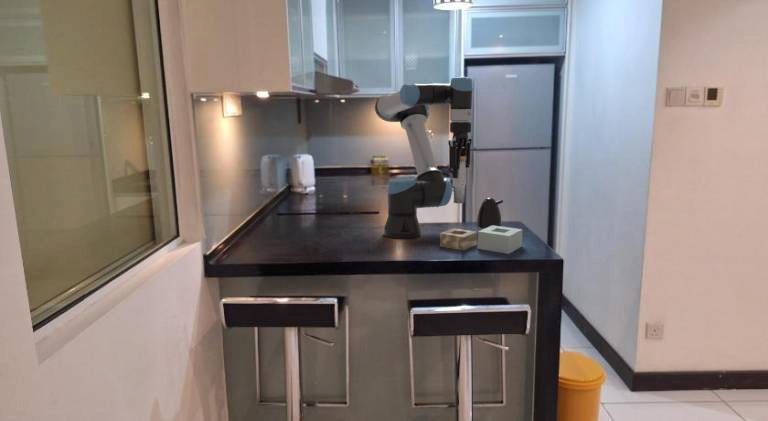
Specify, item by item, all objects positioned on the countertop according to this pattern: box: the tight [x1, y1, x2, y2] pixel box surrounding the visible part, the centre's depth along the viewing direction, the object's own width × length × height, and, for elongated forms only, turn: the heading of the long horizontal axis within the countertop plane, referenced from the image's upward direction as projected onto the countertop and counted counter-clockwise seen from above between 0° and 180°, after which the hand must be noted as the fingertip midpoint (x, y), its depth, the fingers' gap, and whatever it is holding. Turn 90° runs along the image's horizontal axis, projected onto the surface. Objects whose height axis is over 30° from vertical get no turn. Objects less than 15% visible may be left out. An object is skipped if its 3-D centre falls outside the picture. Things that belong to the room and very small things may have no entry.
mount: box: [439, 228, 478, 251], centre depth 194 cm, size 10×10×5 cm
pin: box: [453, 156, 466, 204], centre depth 189 cm, size 4×4×17 cm
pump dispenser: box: [475, 197, 504, 232], centre depth 209 cm, size 10×10×15 cm
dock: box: [477, 225, 524, 255], centre depth 190 cm, size 12×12×6 cm
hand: (459, 185), depth 190 cm, fingers closed on pin, 4 cm apart
